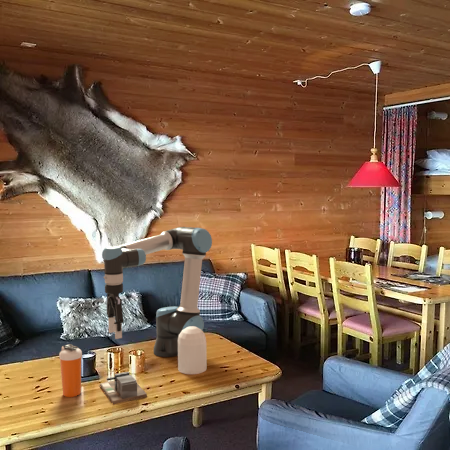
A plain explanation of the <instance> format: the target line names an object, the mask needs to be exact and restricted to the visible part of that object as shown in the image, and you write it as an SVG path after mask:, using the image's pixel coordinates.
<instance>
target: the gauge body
mask: <svg viewBox="0 0 450 450" xmlns="http://www.w3.org/2000/svg"><path fill="white" fill-rule="evenodd" d="M100 386H101V387H100ZM99 387H100V389H101V388H102V389H103V390H102V389H101V390H102V391H103V393H104V392H105V393H104V394H105V396H108V397H107V398H108V399H109V401H110V402H111V403H113V404H112V405H115V404H119V403H120V404H121V403H124V402H128V401H134V400H139V399H143V398H147V397H148V394H147V392H146V391H145V390H144V389H143V388H142V387H141V386H140V385H139V384H138V382H137V380H136V378H135V377H133V375H132V374H130V375H127V376H122V377H117V389H115V380H109V381H105V382H101V383H99Z"/></svg>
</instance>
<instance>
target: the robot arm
mask: <svg viewBox="0 0 450 450" xmlns="http://www.w3.org/2000/svg"><path fill="white" fill-rule="evenodd" d="M211 235H212V234H211V233H210V232H209V231H208V230H207V229H206V228H202V227H191V226H179V227H175V228H171V229H167V230H163V231H162V232H161V233H160V234H158V235H154V236H151V237H147V238H142V239H139V240H136V241H132V242H128V243H124V244H121V245H116V246H112V245H110V246H106V247H105V248H104V249H103V250H102V253H101V258H102V260H103V262H104V263H103V264H104V266H103V269H104V276H103V279H104V283H105V284H104V292H105V294H106V297H107V298H106V315H107V317H108V318H107V319H108V322H107V323H108V333H109V334H111V333H114V338H115V339H116V340H118V339H119V340H120V339H123V330H122V329H123V328H122V327H123V325H122V324H123V323H124V315H123V314H124V313H123V299H122V298H121V296H120V294H122V293H123V292H124V285H123V282H124V273H123V269H126V268H133V267H139V266H143V265H144V264H145V263H146V261H147V255H149V254H153V253H156V252H159V251H163V250H164V251H169V250H182V252H181V253H182V255H183V257H184V262H183V263H184V264H183V265H184V266H183V273H182V274H183V275H182V285H181V294H180V304H179V306H174V305H173V306H167V307H166V306H165V307H161V308H159V309H157V310H156V312H155V314H156V316H155V322H156V324H155V325H156V339H155V342H154V346H153V354H154V356H157V357H162V358H170V357H171V358H172V357H178V337H179V334H180V333H181V331H182V330H183V329H185V328H187V327H189V326H195V327H198V328H199V329H201V330H202V331H203V329H204V328H205V327H204V325H205V323H204V319H203V318H202V317H201V310H200V309H199V307H198V305H199V295H200V294H199V293H200V288H201V287H200V285H201V275H202V265H203V259H204V258H205V257H206V256H207V252H209V251H210V249H211V248H212V244H213V239H212V236H211Z"/></svg>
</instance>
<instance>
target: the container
mask: <svg viewBox="0 0 450 450" xmlns="http://www.w3.org/2000/svg"><path fill="white" fill-rule="evenodd" d="M207 361H208V359H207V338H206V334H205V333H204V331H203V330H201V329H199V328H198V327H195V326H189V327H187V328H185V329H183V330H182V331H181V333H180V334H179V337H178V355H177V369H178V372H180V373H181V374H185V375H198V374H202V373H205V372H206V371H207V363H208V362H207Z"/></svg>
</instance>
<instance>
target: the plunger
mask: <svg viewBox="0 0 450 450" xmlns="http://www.w3.org/2000/svg"><path fill="white" fill-rule="evenodd" d="M113 375H114V376H111V377H107V378H106V382H109V381H115V389H117V377H122V376H127V375H131V374H130V372H129V371H124V372H119V373H114V374H113Z"/></svg>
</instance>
